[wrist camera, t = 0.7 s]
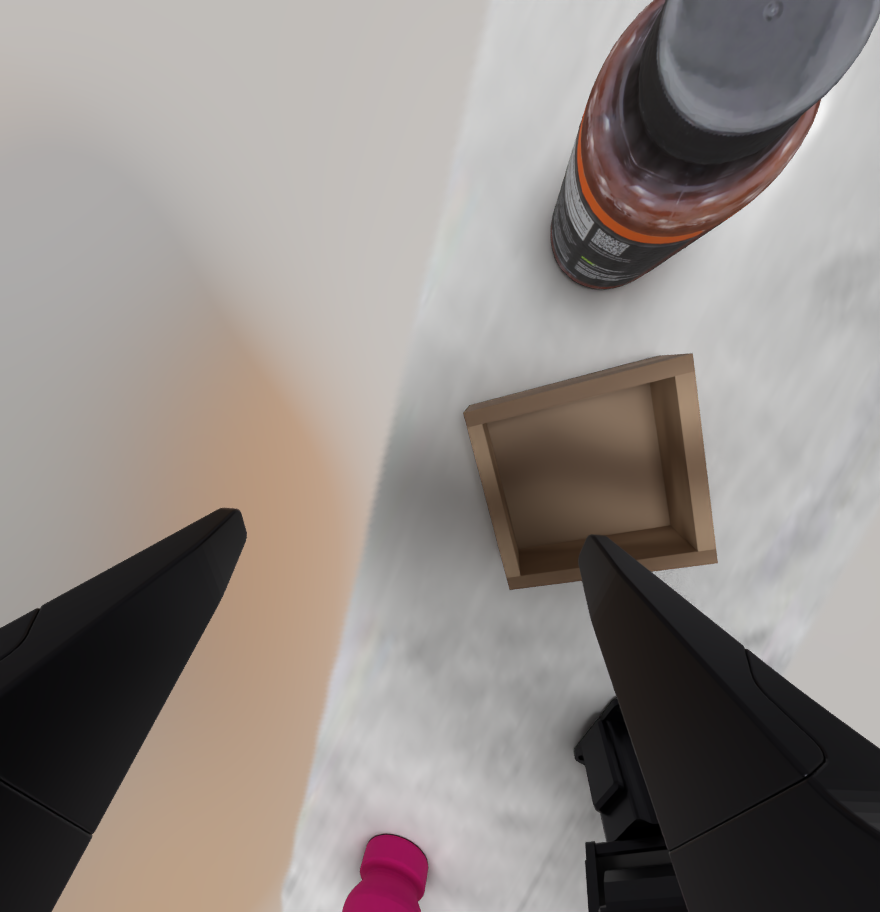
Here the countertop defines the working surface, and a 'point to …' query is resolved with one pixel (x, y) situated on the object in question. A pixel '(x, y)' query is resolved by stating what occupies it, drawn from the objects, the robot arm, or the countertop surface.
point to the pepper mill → (389, 877)
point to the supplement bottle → (695, 124)
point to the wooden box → (596, 470)
